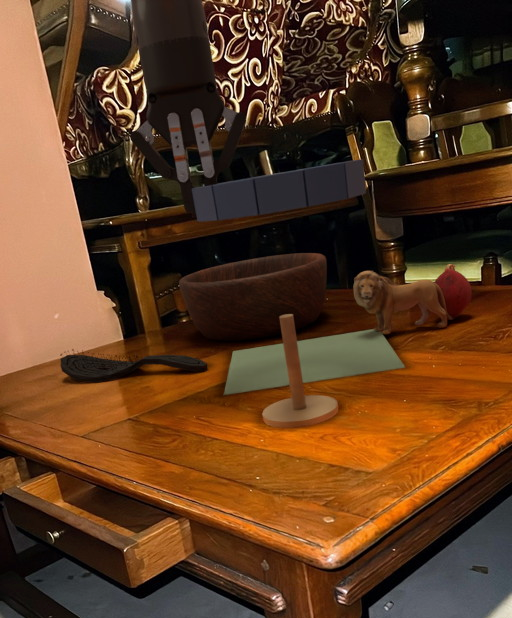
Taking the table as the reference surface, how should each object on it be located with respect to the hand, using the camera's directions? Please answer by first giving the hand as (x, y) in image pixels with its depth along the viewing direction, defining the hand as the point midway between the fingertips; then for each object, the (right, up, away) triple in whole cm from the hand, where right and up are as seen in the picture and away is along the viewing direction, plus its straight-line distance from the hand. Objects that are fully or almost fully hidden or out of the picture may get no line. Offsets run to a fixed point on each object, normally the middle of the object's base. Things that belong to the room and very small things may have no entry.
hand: (204, 214), depth 79 cm
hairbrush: (-12, -15, +25) cm, 32 cm away
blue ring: (+9, +1, 0) cm, 9 cm away
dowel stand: (+11, -23, -6) cm, 26 cm away
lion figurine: (+27, -10, +21) cm, 35 cm away
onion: (+35, -7, +24) cm, 43 cm away
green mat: (+13, -15, +15) cm, 25 cm away
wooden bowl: (+7, -5, +41) cm, 42 cm away
